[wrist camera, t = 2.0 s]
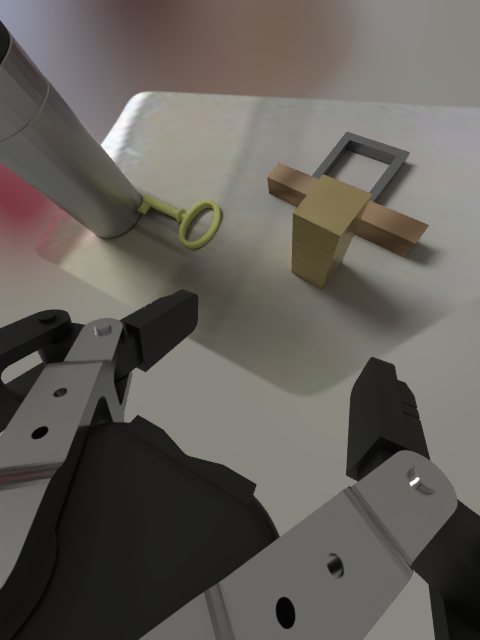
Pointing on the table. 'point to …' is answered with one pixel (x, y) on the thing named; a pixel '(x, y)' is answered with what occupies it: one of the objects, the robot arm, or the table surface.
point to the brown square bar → (375, 221)
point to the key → (185, 218)
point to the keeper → (371, 150)
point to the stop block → (325, 228)
